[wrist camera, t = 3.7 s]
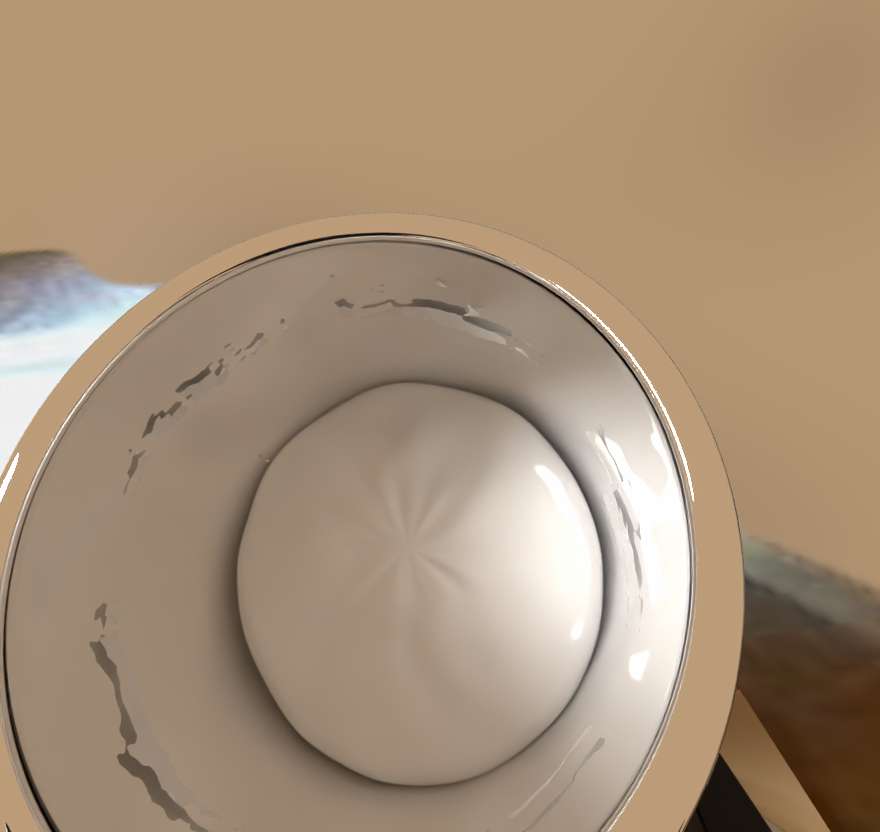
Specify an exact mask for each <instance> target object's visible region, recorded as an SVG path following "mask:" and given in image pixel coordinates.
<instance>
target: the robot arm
mask: <svg viewBox="0 0 880 832" xmlns="http://www.w3.org/2000/svg"><path fill="white" fill-rule="evenodd" d="M685 832H772V830H771V829H770V827H769V826H768V824H767V823H766V821H765V820H764V818H763V817H762V815H761V814H760V812H759V811H758V809H757V808H756V806H755V805H754V803H753V802H752V800H751V799H750V797H749V796H748V794H747V793H746V791H745V790H744V788H743V787H742V785H741V784H740V782H739V781H738V779H737V778H736V776H735V775H734V773H733V772H732V770H731V769H730V767H729V766H728V764H727V763H726V761H725V760H724V758H723V757H722V755H721V754H720V752H719V755H718V758H717V761H716V764H715V766H714V769H713V772H712V774H711V777H710V779H709V782H708V785H707V787H706V789H705V791H704V794H703V796H702V798H701V800H700V803H699V805H698V807H697V809H696V811H695V813H694V815H693V817H692V819H691V821H690V823H689V825H688V827H687V829H686V831H685Z"/></svg>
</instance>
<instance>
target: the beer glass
mask: <svg viewBox="0 0 880 832" xmlns="http://www.w3.org/2000/svg"><path fill="white" fill-rule="evenodd" d="M744 620H745V578H744V561H743V552H742V543H741V535H740V529H739V523H738V516H737V512H736V507H735V503H734V498H733V494H732V490H731V486H730V482H729V479H728V475H727V472H726V469H725V466H724V463H723V460H722V457H721V454H720V451H719V448H718V446H717V443H716V440H715V438H714V436H713V433H712V431H711V428H710V426H709V424H708V422H707V420H706V418H705V416H704V413H703V412H702V409H701V407H700V405H699V404H698V401H697V400H696V398H695V396H694V394H693V392H692V390H691V389H690V387H689V385H688V384H687V382H686V380H685V379H684V377H683V375H682V374H681V372H680V371H679V369H678V368H677V366H676V365H675V363H674V362H673V360H672V359H671V358H670V356H669V355H668V354H667V352H666V351H665V350H664V348H663V347H662V346H661V345H660V343H659V342H658V341H657V340H656V338H655V337H654V336H653V335H652V334H651V332H650V331H649V330H648V329H647V328H646V327H645V326H644V325H643V324H642V322H641V321H640V320H639V319H638V318H637V317H636V316H635V315H634V314H633V313H632V312H631V311H630V310H629V309H628V308H627V307H626V306H625V305H624V304H623V303H621V302H620V301H619V300H618V299H617V298H616V297H615V296H613V295H612V294H611V293H610V292H609V291H608V290H606V289H605V288H604V287H603V286H601V285H600V284H599V283H598V282H596V281H595V280H593V279H592V278H591V277H589V276H588V275H587V274H585V273H584V272H582V271H581V270H579V269H578V268H576V267H575V266H573V265H572V264H570V263H568V262H567V261H565V260H564V259H562V258H560V257H558V256H556V255H555V254H553V253H551V252H549V251H547V250H545V249H543V248H541V247H539V246H537V245H535V244H533V243H530V242H528V241H526V240H524V239H521V238H519V237H516V236H514V235H511V234H509V233H506V232H503V231H500V230H497V229H494V228H491V227H487V226H484V225H480V224H476V223H472V222H468V221H463V220H459V219H454V218H448V217H442V216H435V215H427V214H416V213H392V212H389V213H388V212H386V213H360V214H350V215H341V216H334V217H328V218H322V219H317V220H312V221H307V222H303V223H299V224H295V225H291V226H287V227H284V228H280V229H277V230H274V231H271V232H267V233H265V234H262V235H259V236H257V237H254V238H251V239H249V240H246V241H243V242H241V243H238V244H236V245H234V246H232V247H230V248H227V249H225V250H223V251H221V252H219V253H217V254H214V255H212V256H211V257H209V258H207V259H205V260H203V261H201V262H199V263H198V264H196V265H194V266H192V267H191V268H189V269H187V270H185V271H184V272H182V273H180V274H179V275H177V276H176V277H174V278H172V279H171V280H169V281H168V282H166V283H165V284H163V285H162V286H160V287H159V288H158V289H156V290H155V291H153V292H152V293H151V294H149V295H148V296H147V297H145V298H144V299H143V300H141V301H140V302H139V303H137V304H136V305H135V306H134V307H132V308H131V309H130V310H129V311H127V312H126V313H125V314H124V315H123V316H122V317H121V318H119V319H118V320H117V321H116V322H115V323H114V324H113V325H112V326H111V327H109V328H108V329H107V330H106V331H105V332H104V333H103V334H102V335H101V336H100V337H99V338H98V339H97V340H96V341H95V342H94V343H93V344H92V345H91V346H90V347H89V348H88V349H87V350H86V351H85V352H84V353H83V354H82V355H81V357H80V358H79V359H78V360H77V361H76V362H75V363H74V364H73V366H72V367H71V368H70V369H69V370H68V372H67V373H66V374H65V375H64V376H63V378H62V379H61V380H60V381H59V383H58V384H57V385H56V387H55V388H54V389H53V390H52V392H51V393H50V394H49V396H48V397H47V399H46V400H45V401H44V403H43V404H42V405H41V407H40V408H39V410H38V411H37V413H36V414H35V416H34V417H33V419H32V420H31V422H30V423H29V425H28V427H27V428H26V430H25V431H24V433H23V435H22V436H21V438H20V440H19V442H18V443H17V445H16V447H15V448H14V450H13V452H12V454H11V456H10V458H9V460H8V462H7V464H6V466H5V468H4V470H3V472H2V474H1V476H0V832H685V831H686V829H687V827H688V825H689V823H690V821H691V819H692V817H693V815H694V813H695V811H696V809H697V807H698V805H699V803H700V800H701V798H702V796H703V794H704V791H705V789H706V787H707V785H708V782H709V779H710V777H711V774H712V772H713V769H714V766H715V764H716V761H717V758H718V755H719V752H720V749H721V746H722V743H723V740H724V737H725V734H726V730H727V727H728V723H729V719H730V715H731V712H732V708H733V703H734V698H735V693H736V688H737V683H738V677H739V670H740V664H741V658H742V648H743V636H744Z"/></svg>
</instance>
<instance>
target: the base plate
mask: <svg viewBox="0 0 880 832" xmlns="http://www.w3.org/2000/svg"><path fill="white" fill-rule="evenodd" d="M720 754H721V755H722V757H723V758H724V760H725V761H726V763H727V764H728V766H729V767H730V769H731V770H732V772H733V773H734V775H735V776H736V778H737V779H738V781H739V782H740V784H741V785H742V787H743V788H744V790H745V791H746V793H747V794H748V796H749V797H750V799H751V800H752V802H753V803H754V805H755V806H756V808H757V809H758V811H759V812H760V813H761V814H762V815H764V816H765V817H767V818H768V819H770V820H771V821H773V822H774V823H775V824H777V825H778V826H780V827H781V828H782V829H784V830H785V831H786V832H830V830H829V829H828V827H827V825H826V824H825V822H824V821H823V819H822V818H821V816H820V814H819V813H818V811H817V810H816V808H815V807H814V805H813V804H812V802H811V800H810V799H809V797H808V796H807V794H806V793H805V791H804V789H803V788H802V786H801V785H800V783H799V782H798V780H797V778H796V777H795V775H794V774H793V772H792V771H791V769H790V767H789V766H788V764H787V763H786V761H785V760H784V758H783V757H782V755H781V753H780V752H779V750H778V749H777V747H776V746H775V744H774V742H773V741H772V739H771V738H770V736H769V735H768V733H767V731H766V730H765V728H764V727H763V725H762V724H761V722H760V720H759V719H758V717H757V716H756V714H755V713H754V711H753V710H752V708H751V706H750V705H749V703H748V702H747V700H746V699H745V697H744V695H743V694H742V692H741V691H740V689H738V688H736V693H735V698H734V703H733V708H732V712H731V715H730V719H729V723H728V727H727V730H726V734H725V737H724V740H723V743H722V746H721V749H720Z"/></svg>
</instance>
